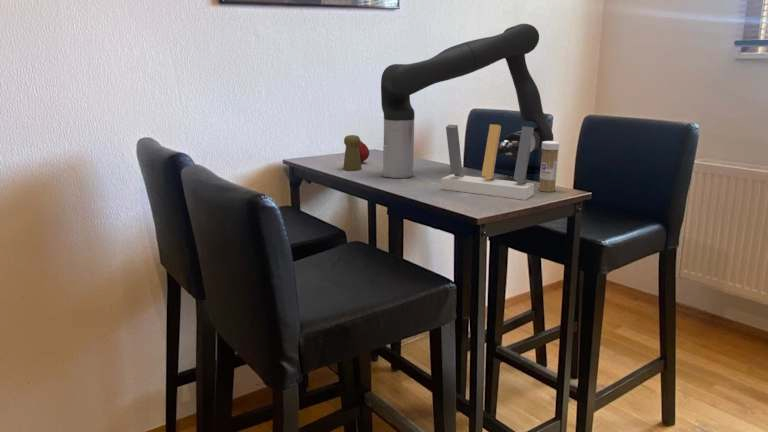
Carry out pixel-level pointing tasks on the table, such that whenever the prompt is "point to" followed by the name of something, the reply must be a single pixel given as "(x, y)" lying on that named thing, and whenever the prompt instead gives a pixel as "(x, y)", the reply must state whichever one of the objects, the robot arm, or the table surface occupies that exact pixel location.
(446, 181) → the lever base
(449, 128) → the lever left
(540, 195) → the table surface
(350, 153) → the cork
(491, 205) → the table surface
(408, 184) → the table surface
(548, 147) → the sprinkles bottle
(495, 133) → the lever middle
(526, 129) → the lever right
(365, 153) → the red oval lump
